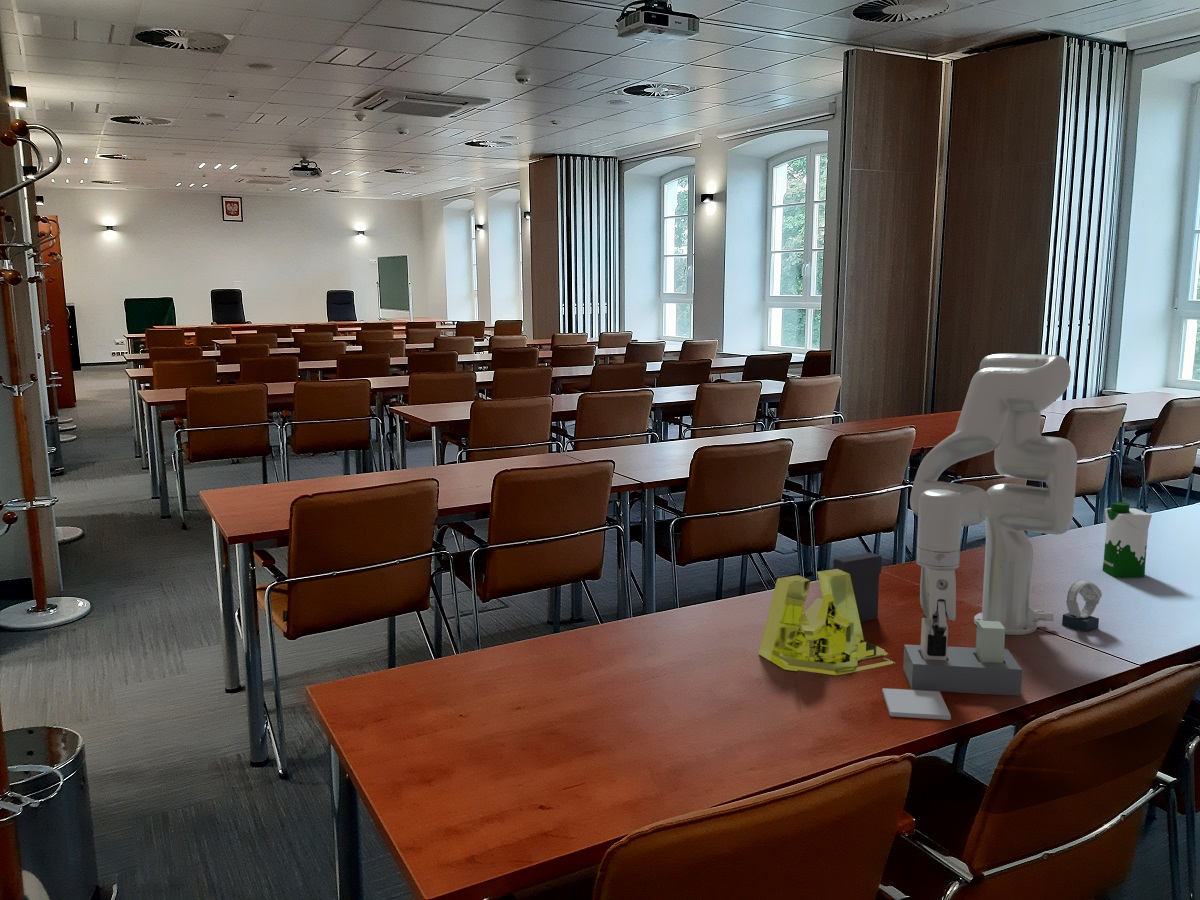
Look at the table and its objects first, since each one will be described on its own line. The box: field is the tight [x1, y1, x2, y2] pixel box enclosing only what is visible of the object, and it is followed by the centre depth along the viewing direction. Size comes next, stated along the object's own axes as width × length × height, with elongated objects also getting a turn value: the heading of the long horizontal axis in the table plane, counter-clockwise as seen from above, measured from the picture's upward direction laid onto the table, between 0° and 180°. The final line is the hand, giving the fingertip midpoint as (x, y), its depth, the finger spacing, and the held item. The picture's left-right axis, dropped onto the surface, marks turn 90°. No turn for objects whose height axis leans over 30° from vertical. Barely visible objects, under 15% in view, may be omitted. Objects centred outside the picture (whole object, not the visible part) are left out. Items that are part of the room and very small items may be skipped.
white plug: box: [920, 617, 949, 661], centre depth 172 cm, size 4×4×10 cm
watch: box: [1061, 579, 1103, 633], centre depth 198 cm, size 6×8×11 cm
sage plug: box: [975, 621, 1006, 663], centre depth 171 cm, size 4×4×10 cm
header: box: [902, 644, 1023, 697], centre depth 172 cm, size 19×10×5 cm, turn 80°
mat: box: [882, 688, 952, 721], centre depth 162 cm, size 10×10×1 cm
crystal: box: [758, 568, 896, 676], centre depth 185 cm, size 18×25×16 cm
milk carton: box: [1102, 501, 1153, 579], centre depth 233 cm, size 9×9×20 cm
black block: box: [832, 552, 883, 623], centre depth 205 cm, size 11×4×15 cm, turn 116°
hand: (933, 649), depth 172 cm, fingers open, 4 cm apart
